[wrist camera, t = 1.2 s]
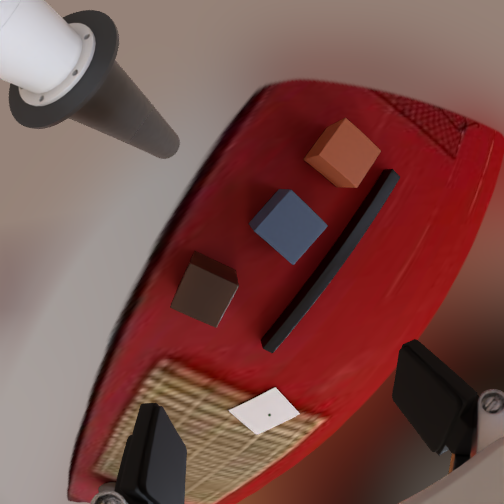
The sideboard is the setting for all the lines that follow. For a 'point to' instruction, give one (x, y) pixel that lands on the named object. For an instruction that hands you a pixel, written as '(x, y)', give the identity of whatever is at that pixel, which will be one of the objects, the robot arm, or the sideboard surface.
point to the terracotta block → (343, 154)
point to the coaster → (265, 411)
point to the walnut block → (205, 289)
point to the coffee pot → (107, 487)
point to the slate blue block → (288, 224)
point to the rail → (331, 261)
